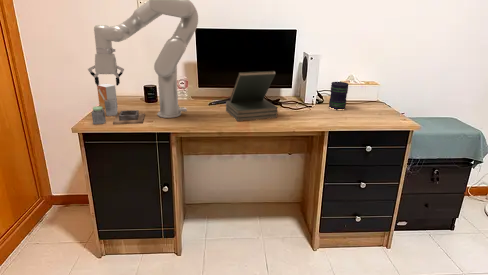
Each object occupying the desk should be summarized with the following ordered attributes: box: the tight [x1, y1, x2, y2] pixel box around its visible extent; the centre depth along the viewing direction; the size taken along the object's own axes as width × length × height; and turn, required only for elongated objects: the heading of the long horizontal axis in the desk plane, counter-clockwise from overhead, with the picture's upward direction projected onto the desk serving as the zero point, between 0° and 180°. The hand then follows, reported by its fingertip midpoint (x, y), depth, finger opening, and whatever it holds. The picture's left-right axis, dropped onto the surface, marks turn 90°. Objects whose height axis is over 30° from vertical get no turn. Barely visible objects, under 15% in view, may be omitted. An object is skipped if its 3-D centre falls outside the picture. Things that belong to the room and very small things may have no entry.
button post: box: [91, 108, 107, 125], centre depth 170 cm, size 5×5×6 cm
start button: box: [92, 105, 104, 112], centre depth 170 cm, size 4×4×7 cm
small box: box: [96, 83, 118, 110], centre depth 194 cm, size 8×6×13 cm
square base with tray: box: [112, 109, 146, 125], centre depth 176 cm, size 14×14×4 cm
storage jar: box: [328, 81, 349, 109], centre depth 203 cm, size 10×10×15 cm
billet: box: [104, 99, 119, 117], centre depth 183 cm, size 5×5×8 cm
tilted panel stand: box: [225, 70, 279, 122], centre depth 186 cm, size 23×20×25 cm
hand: (107, 85), depth 178 cm, fingers open, 9 cm apart
